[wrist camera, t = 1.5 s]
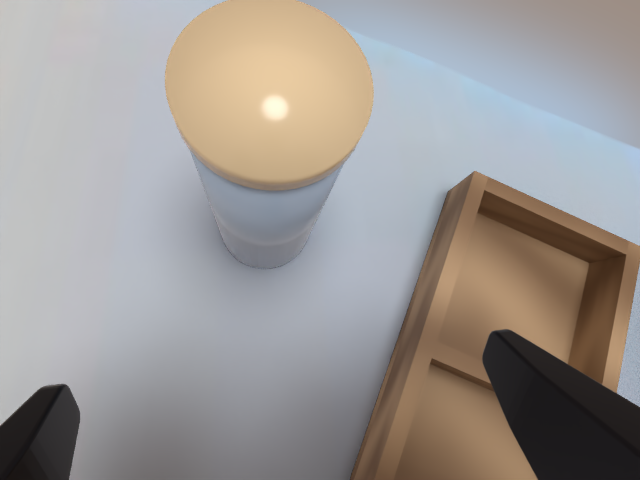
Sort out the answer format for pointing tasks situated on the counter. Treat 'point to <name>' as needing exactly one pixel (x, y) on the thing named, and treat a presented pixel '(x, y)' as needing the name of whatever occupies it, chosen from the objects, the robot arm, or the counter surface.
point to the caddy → (486, 316)
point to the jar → (268, 118)
